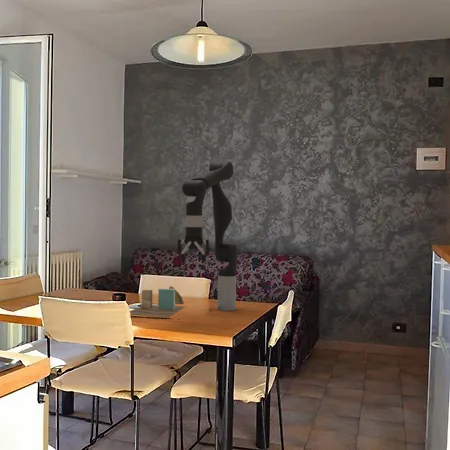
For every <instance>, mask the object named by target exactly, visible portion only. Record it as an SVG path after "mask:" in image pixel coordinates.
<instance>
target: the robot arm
mask: <svg viewBox="0 0 450 450" xmlns="http://www.w3.org/2000/svg"><path fill="white" fill-rule="evenodd" d="M233 175H234V165H233V163H232V162H231V161H228V160H213V161H211V162H210V164H209V168H208V171H207V172H204V173H202V174H200V175H198V176H197V177H192V178H189V179H187V180H185V181H184V182H183V184H182V186H181V190H182V191H181V192H182V194H184V196H187V197H195V199H194V200H193V201H189V202H187V203H186V205H185V206H186V207H185V224H184V225H185V226H184V227H185V232H184V233H185V234H184V235H185V236H184V239H182V238H178V240H177V253H178V254H180V255H181V262H182V263H184V264H185V263H187V262H186V259H187V258H186V256H187V255H186V252H187V251H189V250H193V249H194V250H199V251H200V253H201V264H205V262H206V261H207V254H210V253H211V241H210V239H204V238H203V230H204V229H203V228H204V226H203V224H204V223H203V221H204V220H203V204H204V200H205V197H206V193H207V190H208V189H210V188H211V193H212V194H211V195H212V196H211V197H212V211H213V212H212V213H213V222H214V255H215V260H216V261H217V262H219V263H228V264H227V266H225V267H223V268H220V269H218V271H217V310H218V311H222V312H224V311H225V312H227V311H229V312H230V311H235V310H236V309H237V307H236V304H237V303H236V302H237V298H236V297H237V296H236V295H237V292H236V291H237V271H238V256H239V255H238V254H239V252H238V246H237V245H236V244H232V243H224V236H225V233H226V231H227V229H228V228H229V226H230V224H231V222H232V220H233V211H232V208H233V207H232V204H231V202H230V200H229V199H228V197H227V196H226V194H225V193H224V191H223V189H222V187H221V182H224V181H228V180H230V179H232V178H233ZM203 243H204V245H205V249H206V250H205V249H204V247H203V246H202V245H203ZM183 244H185V247H183V248H182V246H183Z"/></svg>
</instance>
